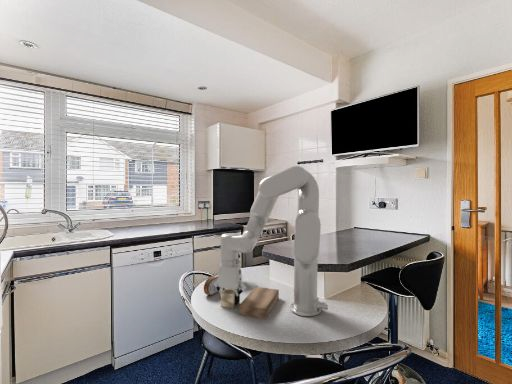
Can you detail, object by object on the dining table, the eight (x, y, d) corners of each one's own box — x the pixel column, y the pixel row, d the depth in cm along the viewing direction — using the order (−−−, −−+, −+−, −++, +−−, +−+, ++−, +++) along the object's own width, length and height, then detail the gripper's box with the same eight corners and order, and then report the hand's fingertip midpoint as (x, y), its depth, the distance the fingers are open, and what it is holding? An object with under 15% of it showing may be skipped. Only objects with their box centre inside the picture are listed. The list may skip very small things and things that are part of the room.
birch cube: (238, 302, 126) (238, 289, 126) (233, 308, 120) (233, 294, 120) (226, 300, 128) (226, 287, 128) (220, 306, 122) (220, 292, 122)
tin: (223, 286, 145) (222, 270, 144) (228, 287, 143) (227, 271, 143) (203, 297, 132) (202, 279, 132) (208, 298, 130) (208, 280, 130)
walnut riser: (278, 298, 130) (278, 289, 130) (265, 318, 111) (265, 308, 111) (256, 295, 134) (256, 286, 134) (239, 314, 115) (239, 304, 115)
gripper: (251, 261, 124) (251, 302, 125) (215, 257, 130) (216, 296, 131) (244, 266, 117) (245, 309, 118) (207, 262, 123) (208, 303, 124)
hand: (229, 302), depth 124 cm, fingers closed on birch cube, 6 cm apart
